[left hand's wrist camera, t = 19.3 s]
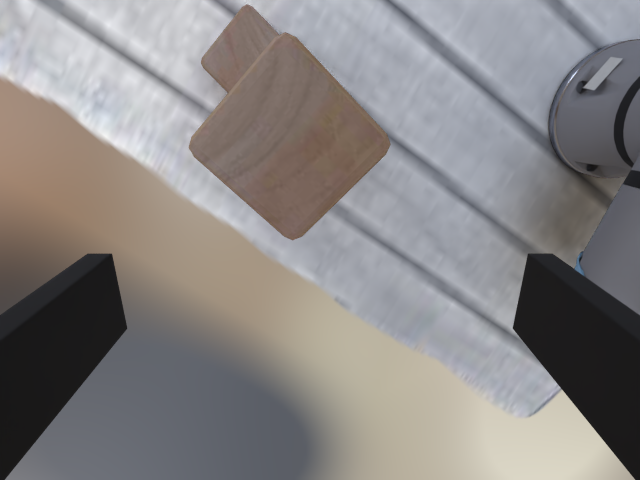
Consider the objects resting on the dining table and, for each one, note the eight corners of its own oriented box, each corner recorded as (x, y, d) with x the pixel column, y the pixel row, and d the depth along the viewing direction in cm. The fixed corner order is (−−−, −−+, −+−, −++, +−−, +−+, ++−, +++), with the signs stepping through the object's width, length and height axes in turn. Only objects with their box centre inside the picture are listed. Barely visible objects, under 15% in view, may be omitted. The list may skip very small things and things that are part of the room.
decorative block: (256, 13, 43) (139, -131, 15) (351, 112, 47) (398, 146, 19) (213, 66, 45) (39, 26, 17) (308, 158, 49) (292, 249, 21)
